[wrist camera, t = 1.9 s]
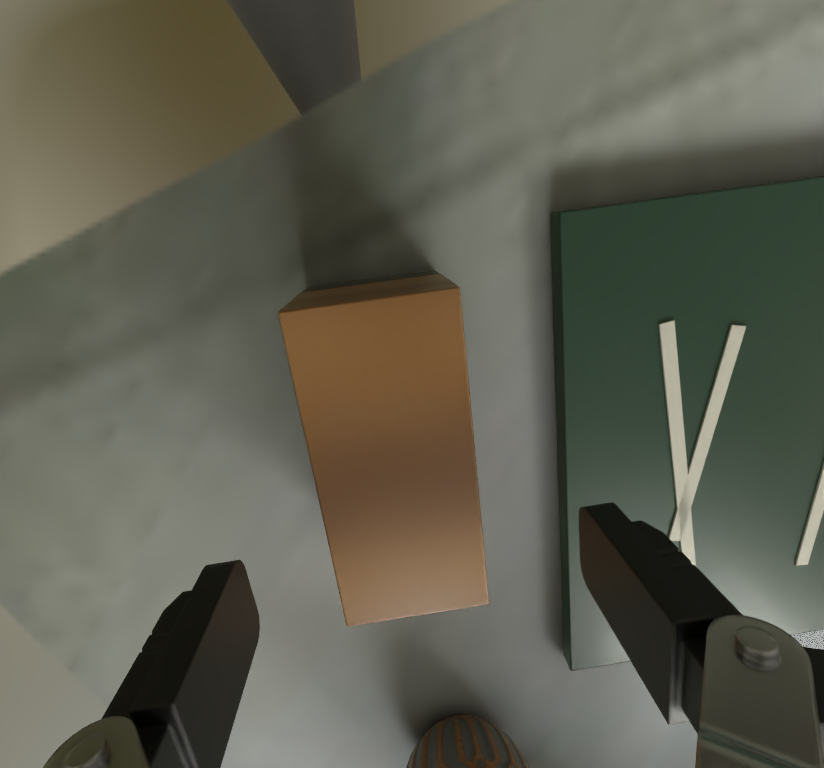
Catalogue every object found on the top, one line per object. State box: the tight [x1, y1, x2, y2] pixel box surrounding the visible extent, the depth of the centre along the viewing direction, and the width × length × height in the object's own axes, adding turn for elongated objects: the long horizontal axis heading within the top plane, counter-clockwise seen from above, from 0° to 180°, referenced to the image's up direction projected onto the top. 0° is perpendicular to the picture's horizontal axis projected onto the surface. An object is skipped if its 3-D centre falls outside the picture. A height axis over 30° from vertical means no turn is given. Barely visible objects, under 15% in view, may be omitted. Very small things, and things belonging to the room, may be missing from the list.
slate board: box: [550, 176, 824, 671], centre depth 21 cm, size 22×18×1 cm
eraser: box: [278, 270, 489, 627], centre depth 17 cm, size 11×5×6 cm, turn 7°
